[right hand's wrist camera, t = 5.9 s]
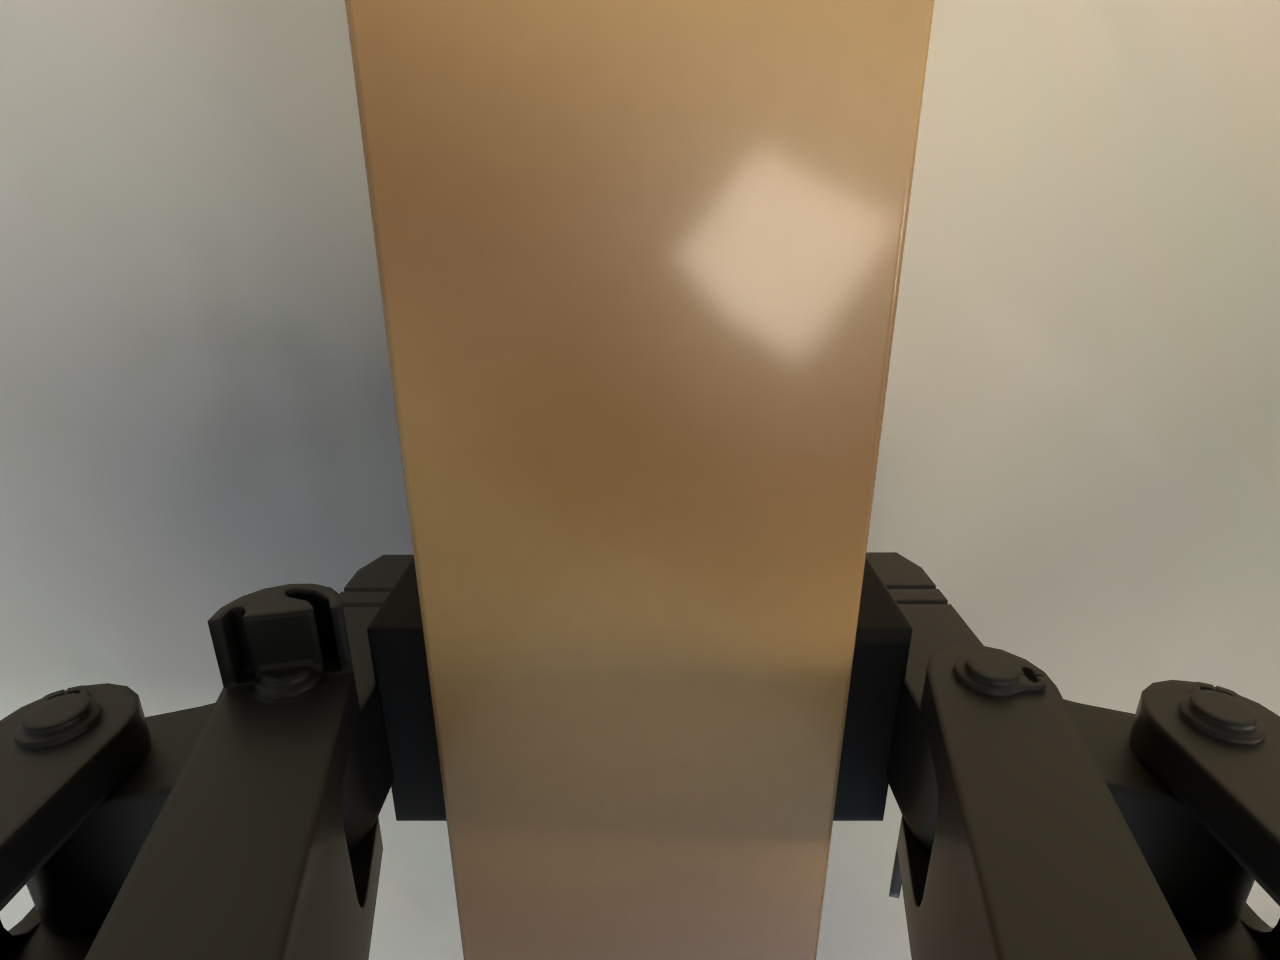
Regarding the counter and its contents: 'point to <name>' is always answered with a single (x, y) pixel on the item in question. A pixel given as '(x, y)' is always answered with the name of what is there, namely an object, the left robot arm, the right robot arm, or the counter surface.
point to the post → (639, 439)
